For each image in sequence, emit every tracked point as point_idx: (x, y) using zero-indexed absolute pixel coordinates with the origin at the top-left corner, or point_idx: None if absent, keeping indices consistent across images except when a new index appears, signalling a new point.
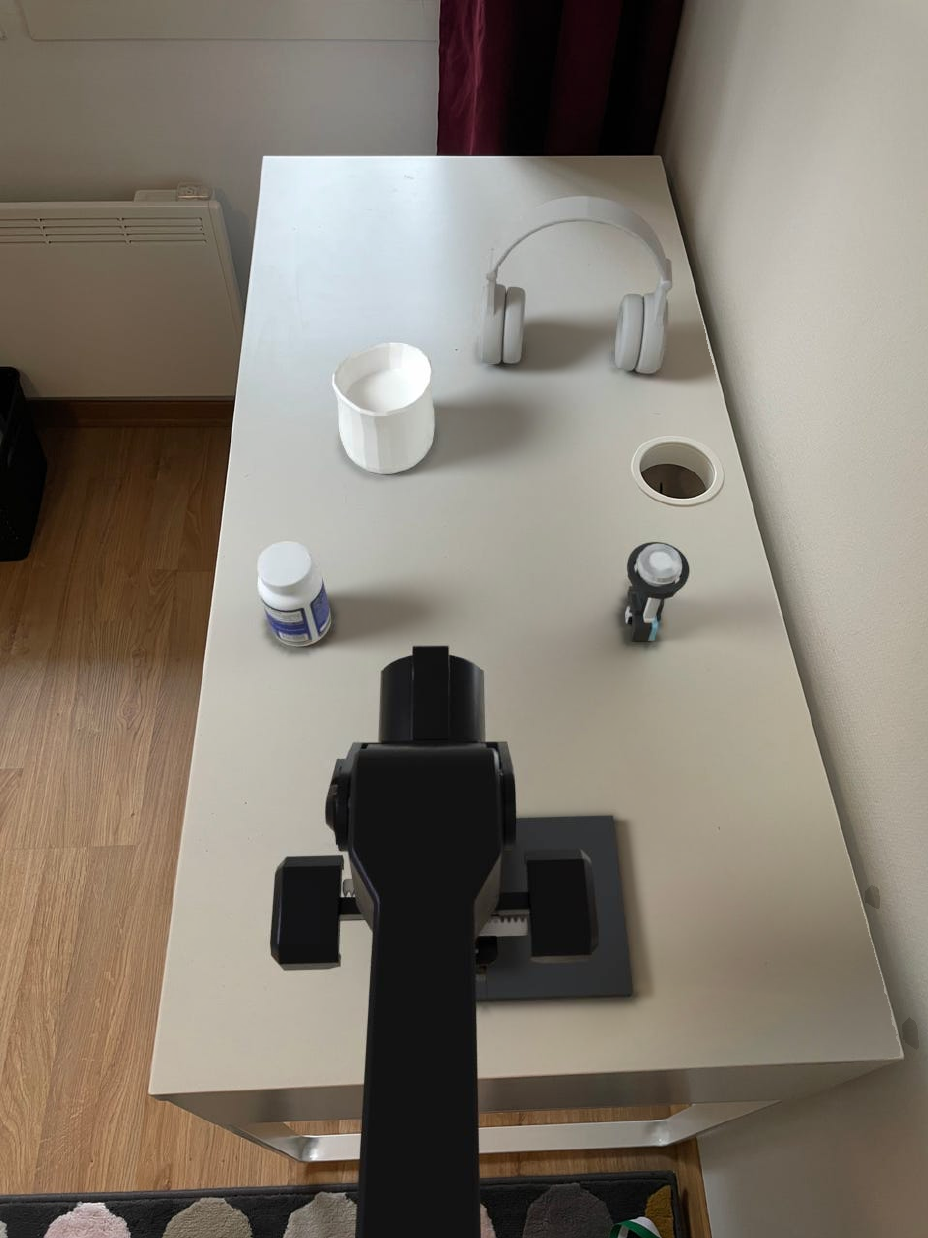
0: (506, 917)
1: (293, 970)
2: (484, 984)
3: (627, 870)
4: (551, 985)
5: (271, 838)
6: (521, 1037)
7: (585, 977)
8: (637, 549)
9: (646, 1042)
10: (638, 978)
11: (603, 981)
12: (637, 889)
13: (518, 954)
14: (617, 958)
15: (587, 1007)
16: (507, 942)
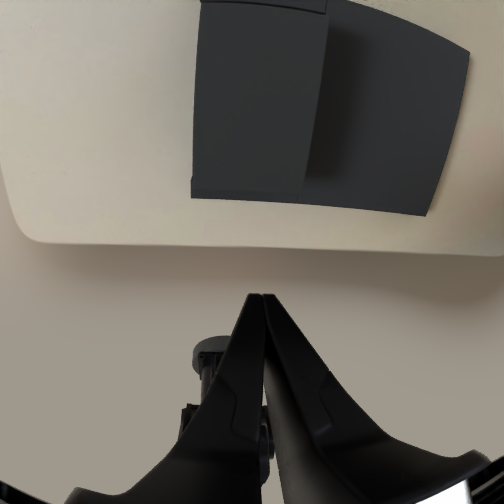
0: (338, 122)
1: (23, 491)
2: None
3: None
4: (364, 199)
5: (51, 21)
6: (319, 227)
7: (396, 197)
8: None
9: (412, 240)
10: None
11: (409, 203)
12: (460, 123)
13: (341, 164)
14: (428, 186)
15: None
16: (332, 149)
